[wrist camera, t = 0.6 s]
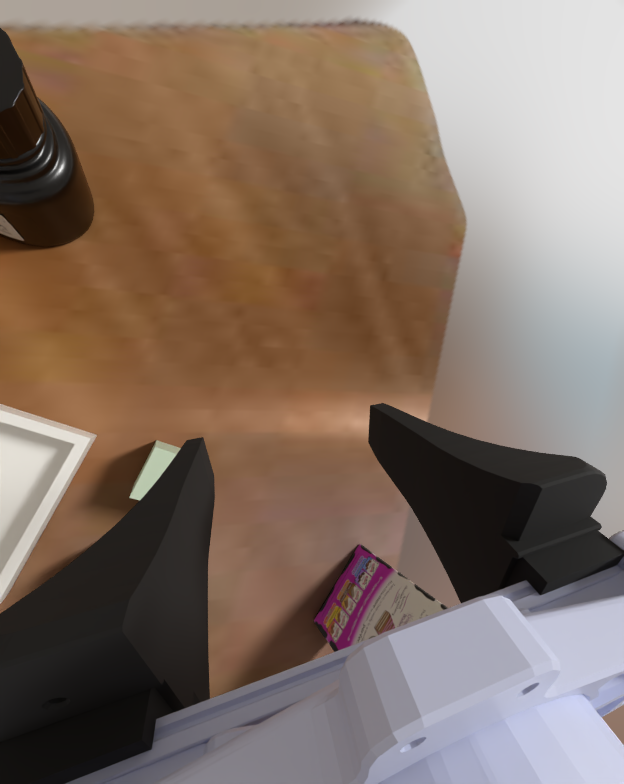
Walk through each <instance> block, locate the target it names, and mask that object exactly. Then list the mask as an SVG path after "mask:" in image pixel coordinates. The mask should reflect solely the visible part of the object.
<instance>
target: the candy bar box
mask: <svg viewBox="0 0 624 784" xmlns="http://www.w3.org/2000/svg"><path fill="white" fill-rule="evenodd" d="M445 609H448V608H447V607H446V606H445V605H443V604H442V603H440V602H439V601H437V600H436V599H435V598H433V597H432V596H430V595H429V594H428V593H426V592H425V591H424V590H422V589H421V588H420V587H418V586H417V585H416V584H414V583H413V582H411V581H410V580H409V579H407V578H406V577H404V576H403V575H402V574H401V573H399V572H398V571H396V570H395V569H393V568H392V567H391V566H390V565H388V564H387V563H385V562H384V561H383V560H381V559H380V558H379V557H377V556H376V555H374V554H373V553H372V552H371V551H369V550H368V549H367V548H365V547H364V546H362V545H360V544H359V545H358V547H357V548H356V550H355V552H354V553H353V555H352V557H351V558H350V560H349V562H348V564H347V565H346V567H345V569H344V570H343V572H342V574H341V575H340V577H339V579H338V581H337V582H336V584H335V586H334V587H333V589H332V591H331V592H330V594H329V596H328V598H327V599H326V601H325V603H324V604H323V606H322V608H321V610H320V611H319V613H318V614H317V616H316V618H315V620H314V622H315V624H316V625H317V627H318V628H319V630H320V631H321V633H322V634H323V636H324V637H325V638H326V640H327V642H328V643H329V644H330V646H331V647H332V649H333V650H334V652H336V651H339V650H341V649H344V648H347V647H349V646H352V645H355V644H357V643H360V642H363V641H365V640H368V639H371V638H373V637H376V636H378V635H380V634H382V633H384V632H386V631H389V630H392V629H394V628H397V627H400V626H402V625H405V624H408V623H410V622H413V621H416V620H418V619H421V618H424V617H426V616H429V615H432V614H434V613H437V612H440V611H442V610H445Z"/></svg>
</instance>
